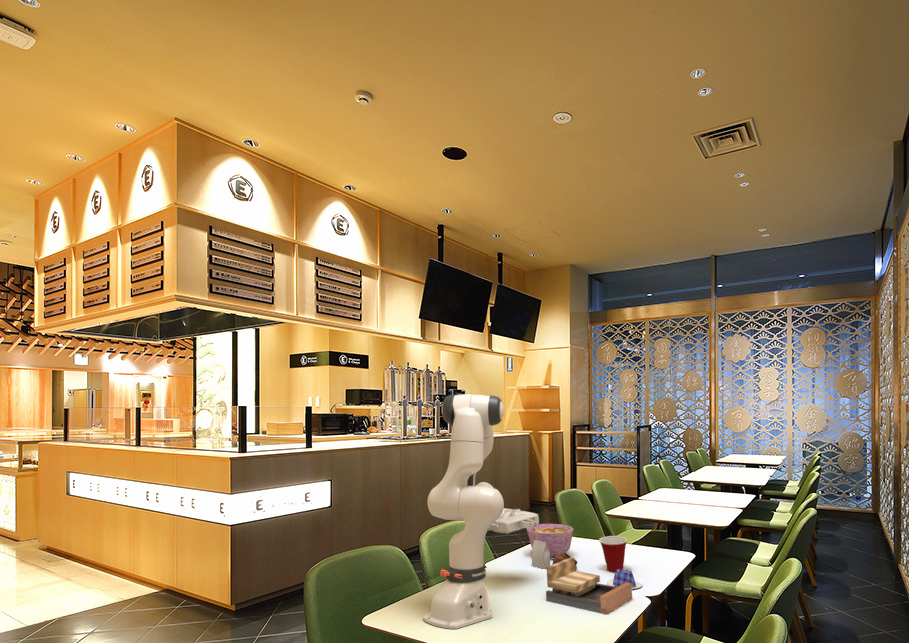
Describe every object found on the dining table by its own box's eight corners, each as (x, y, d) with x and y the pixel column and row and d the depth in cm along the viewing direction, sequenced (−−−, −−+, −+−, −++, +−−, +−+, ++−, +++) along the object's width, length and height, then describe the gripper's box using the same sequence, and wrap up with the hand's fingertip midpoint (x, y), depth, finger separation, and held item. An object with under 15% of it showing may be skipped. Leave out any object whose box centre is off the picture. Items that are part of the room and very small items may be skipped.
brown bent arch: (553, 569, 238) (563, 550, 238) (573, 583, 232) (583, 564, 233) (542, 568, 228) (552, 548, 229) (562, 583, 223) (572, 563, 223)
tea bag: (543, 569, 235) (542, 543, 237) (532, 566, 241) (530, 540, 242) (550, 568, 237) (549, 542, 239) (538, 564, 243) (537, 539, 244)
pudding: (648, 585, 212) (647, 570, 213) (630, 593, 204) (629, 577, 205) (619, 579, 221) (618, 564, 222) (600, 586, 213) (599, 570, 214)
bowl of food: (548, 548, 270) (547, 522, 271) (584, 556, 254) (582, 528, 256) (517, 556, 257) (516, 528, 259) (553, 565, 242) (551, 535, 243)
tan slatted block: (576, 600, 192) (575, 572, 193) (547, 594, 199) (546, 567, 200) (600, 588, 204) (598, 561, 205) (572, 582, 211) (570, 557, 212)
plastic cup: (594, 571, 232) (593, 538, 233) (610, 565, 239) (609, 534, 240) (619, 576, 224) (617, 543, 225) (634, 570, 231) (632, 538, 232)
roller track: (607, 614, 184) (606, 597, 184) (546, 600, 198) (545, 584, 199) (632, 599, 197) (631, 583, 198) (573, 587, 212) (573, 572, 212)
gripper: (486, 516, 215) (518, 520, 206) (519, 508, 231) (550, 511, 222) (487, 534, 214) (519, 539, 206) (520, 525, 230) (550, 529, 221)
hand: (535, 524), depth 214 cm, fingers closed
